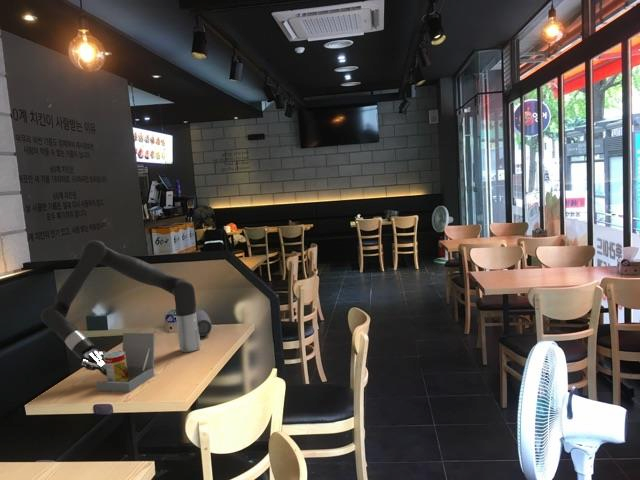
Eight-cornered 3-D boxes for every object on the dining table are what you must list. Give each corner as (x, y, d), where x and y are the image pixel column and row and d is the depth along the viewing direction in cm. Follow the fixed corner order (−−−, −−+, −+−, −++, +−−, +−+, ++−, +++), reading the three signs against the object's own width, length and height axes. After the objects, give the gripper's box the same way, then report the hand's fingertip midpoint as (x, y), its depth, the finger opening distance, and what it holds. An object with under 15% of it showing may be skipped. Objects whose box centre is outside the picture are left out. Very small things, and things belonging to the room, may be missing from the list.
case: (97, 390, 207) (91, 348, 205) (129, 371, 226) (124, 332, 223) (129, 392, 202) (123, 349, 200) (160, 372, 221) (154, 332, 219)
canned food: (133, 379, 215) (129, 351, 214) (119, 387, 208) (115, 358, 207) (118, 378, 218) (114, 350, 217) (104, 385, 211) (99, 357, 210)
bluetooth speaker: (191, 328, 284) (189, 310, 283) (209, 325, 287) (207, 307, 286) (195, 339, 263) (192, 320, 262) (213, 336, 266) (211, 317, 264)
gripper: (71, 343, 209) (101, 373, 207) (95, 332, 221) (123, 361, 219) (62, 355, 211) (92, 386, 209) (86, 344, 224) (114, 373, 221)
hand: (108, 373), depth 214 cm, fingers closed
